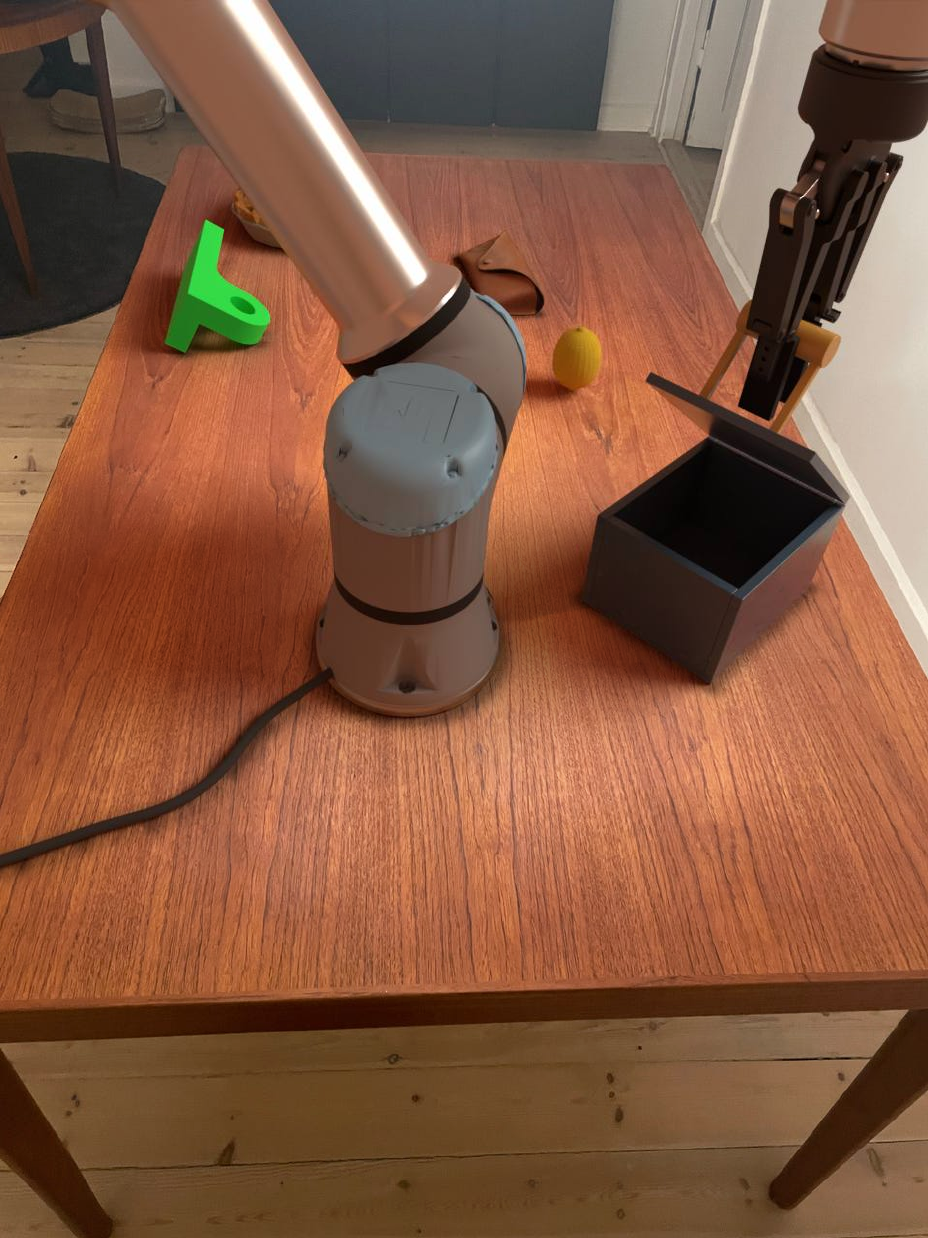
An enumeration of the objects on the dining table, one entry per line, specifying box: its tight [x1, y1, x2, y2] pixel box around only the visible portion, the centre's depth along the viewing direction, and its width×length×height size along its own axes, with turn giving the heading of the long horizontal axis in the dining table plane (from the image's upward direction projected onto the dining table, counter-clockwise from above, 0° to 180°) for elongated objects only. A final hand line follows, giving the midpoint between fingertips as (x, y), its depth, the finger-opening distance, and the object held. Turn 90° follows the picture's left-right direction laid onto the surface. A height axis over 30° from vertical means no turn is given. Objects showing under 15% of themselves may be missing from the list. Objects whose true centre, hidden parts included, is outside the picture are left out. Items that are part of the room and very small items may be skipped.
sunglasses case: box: [456, 229, 545, 317], centre depth 123 cm, size 18×7×7 cm, turn 13°
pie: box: [230, 187, 283, 249], centre depth 132 cm, size 22×22×5 cm
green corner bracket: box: [164, 219, 271, 354], centre depth 113 cm, size 20×10×7 cm, turn 5°
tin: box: [580, 435, 847, 685], centre depth 79 cm, size 17×14×10 cm
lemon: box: [551, 325, 603, 392], centre depth 103 cm, size 6×6×8 cm
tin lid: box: [645, 298, 851, 505], centre depth 72 cm, size 18×14×9 cm
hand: (766, 403), depth 69 cm, fingers closed on tin lid, 2 cm apart
